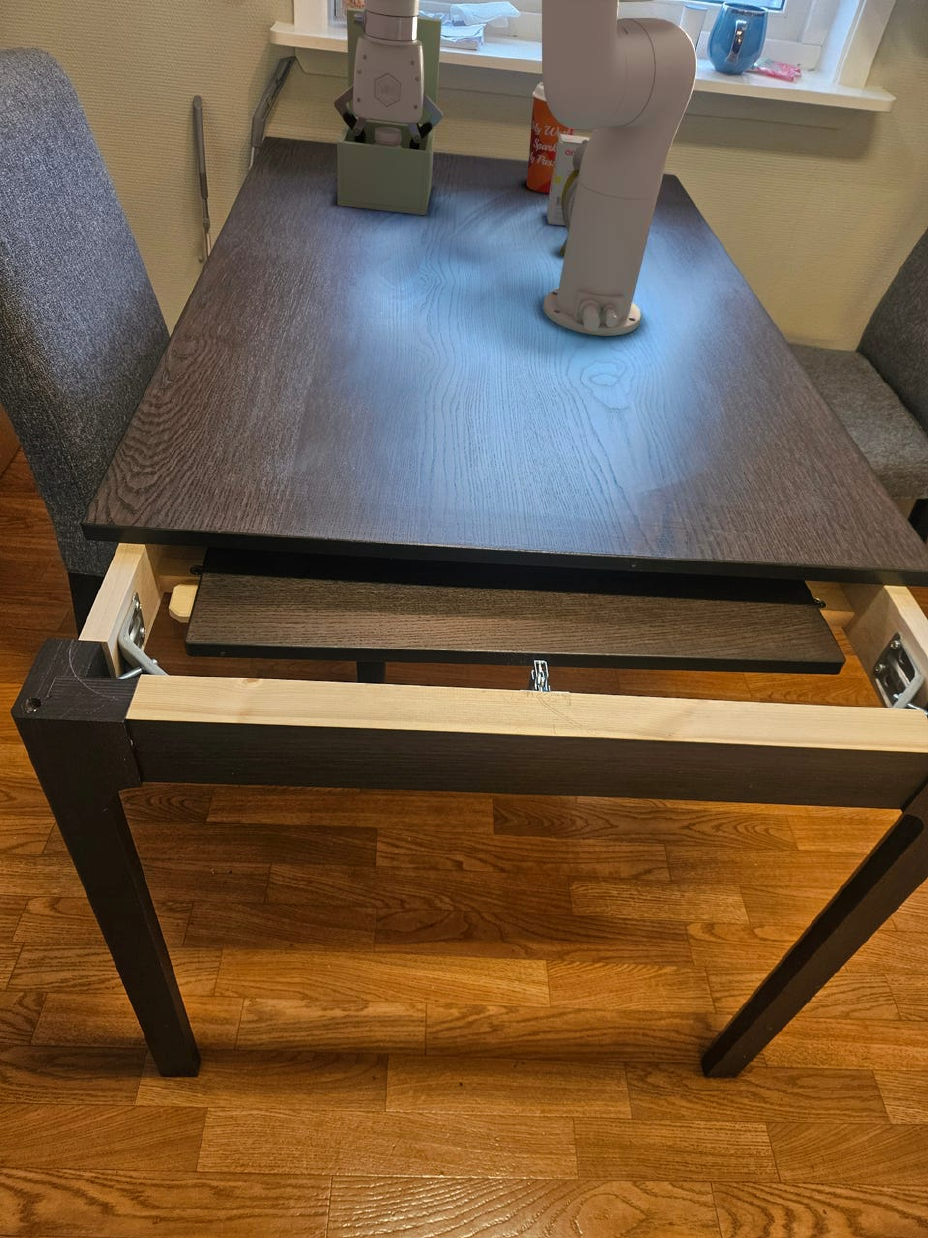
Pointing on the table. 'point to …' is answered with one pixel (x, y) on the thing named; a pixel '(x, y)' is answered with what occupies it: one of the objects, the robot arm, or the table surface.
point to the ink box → (561, 175)
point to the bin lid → (431, 52)
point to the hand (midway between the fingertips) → (386, 164)
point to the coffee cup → (543, 143)
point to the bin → (384, 171)
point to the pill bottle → (388, 136)
